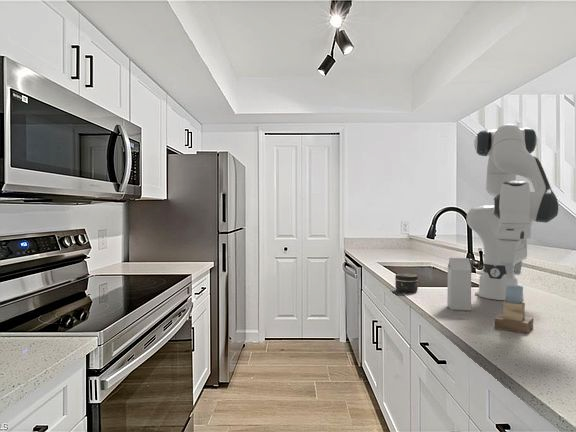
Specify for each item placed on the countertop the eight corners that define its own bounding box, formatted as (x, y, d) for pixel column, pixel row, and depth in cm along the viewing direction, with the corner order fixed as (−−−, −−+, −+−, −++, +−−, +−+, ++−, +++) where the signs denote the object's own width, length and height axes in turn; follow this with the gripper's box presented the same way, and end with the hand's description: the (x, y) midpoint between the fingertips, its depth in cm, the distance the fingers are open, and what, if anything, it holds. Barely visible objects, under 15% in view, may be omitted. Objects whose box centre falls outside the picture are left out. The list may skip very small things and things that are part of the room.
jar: (391, 292, 191) (391, 275, 191) (399, 288, 199) (399, 272, 199) (413, 294, 185) (413, 277, 185) (420, 291, 194) (420, 274, 194)
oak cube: (507, 315, 136) (507, 299, 136) (524, 317, 133) (524, 302, 133) (503, 318, 132) (503, 302, 132) (521, 321, 129) (521, 304, 129)
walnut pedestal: (501, 322, 139) (502, 313, 139) (533, 327, 133) (533, 317, 133) (494, 328, 132) (494, 318, 132) (527, 333, 126) (527, 323, 126)
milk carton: (471, 311, 155) (471, 259, 154) (450, 310, 156) (450, 258, 156) (466, 306, 161) (467, 257, 161) (447, 305, 163) (447, 256, 163)
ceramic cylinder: (507, 299, 136) (507, 284, 136) (524, 302, 133) (524, 286, 133) (503, 302, 132) (503, 286, 132) (520, 304, 129) (521, 288, 129)
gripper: (511, 230, 142) (510, 271, 143) (494, 233, 126) (494, 279, 127) (532, 231, 138) (532, 273, 138) (518, 234, 122) (517, 282, 123)
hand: (513, 276), depth 133 cm, fingers open, 8 cm apart
